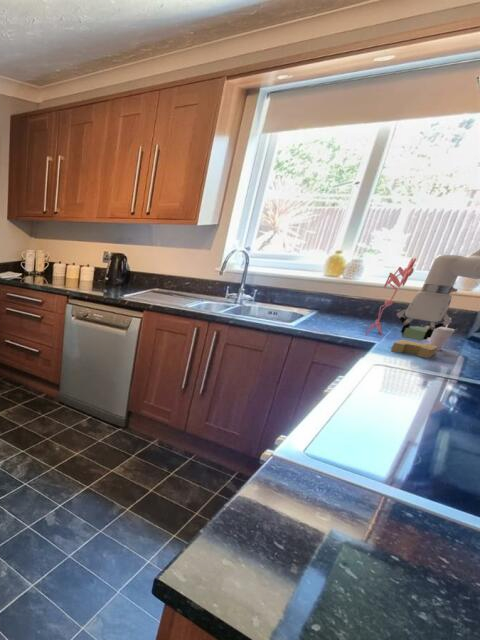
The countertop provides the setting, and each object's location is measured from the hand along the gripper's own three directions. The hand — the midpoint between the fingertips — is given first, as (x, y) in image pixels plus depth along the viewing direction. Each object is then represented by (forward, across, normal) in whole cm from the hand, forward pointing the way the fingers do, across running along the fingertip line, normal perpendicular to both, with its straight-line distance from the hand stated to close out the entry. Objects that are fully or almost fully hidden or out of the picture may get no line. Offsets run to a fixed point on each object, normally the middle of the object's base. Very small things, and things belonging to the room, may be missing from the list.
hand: (414, 336), depth 163 cm
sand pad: (+8, 0, -10) cm, 13 cm away
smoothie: (+8, -4, -23) cm, 25 cm away
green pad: (0, 0, -1) cm, 1 cm away
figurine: (+8, +15, -40) cm, 43 cm away
